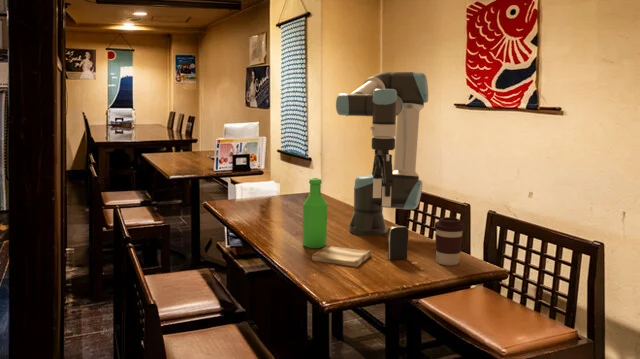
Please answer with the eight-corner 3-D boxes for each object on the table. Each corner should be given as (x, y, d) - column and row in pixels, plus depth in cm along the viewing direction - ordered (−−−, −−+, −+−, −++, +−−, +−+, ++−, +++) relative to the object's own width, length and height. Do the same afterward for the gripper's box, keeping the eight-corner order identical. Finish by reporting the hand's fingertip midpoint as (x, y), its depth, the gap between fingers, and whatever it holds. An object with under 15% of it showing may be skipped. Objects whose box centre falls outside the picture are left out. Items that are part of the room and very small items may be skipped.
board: (328, 249, 207) (328, 244, 207) (370, 255, 201) (370, 250, 200) (312, 260, 194) (312, 254, 194) (356, 266, 188) (357, 261, 188)
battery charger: (402, 256, 201) (404, 224, 199) (408, 259, 198) (409, 226, 196) (384, 257, 199) (385, 225, 197) (389, 260, 195) (391, 228, 193)
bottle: (299, 247, 209) (300, 179, 205) (306, 241, 217) (306, 176, 213) (323, 249, 207) (324, 181, 203) (328, 243, 215) (330, 177, 211)
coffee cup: (426, 259, 197) (429, 217, 194) (451, 257, 200) (454, 215, 198) (442, 268, 188) (445, 223, 185) (468, 265, 191) (471, 221, 189)
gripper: (364, 133, 197) (362, 194, 201) (380, 141, 173) (378, 210, 176) (385, 133, 198) (384, 194, 201) (405, 141, 173) (402, 210, 177)
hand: (381, 202), depth 189 cm, fingers open, 13 cm apart
